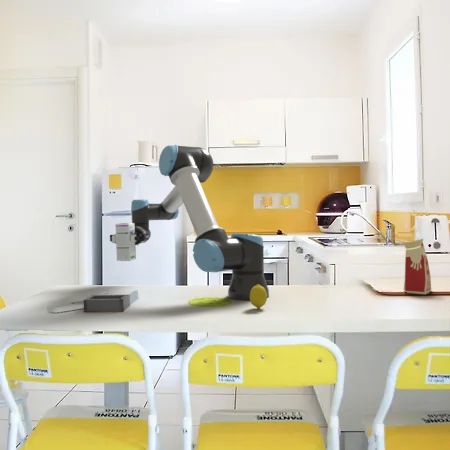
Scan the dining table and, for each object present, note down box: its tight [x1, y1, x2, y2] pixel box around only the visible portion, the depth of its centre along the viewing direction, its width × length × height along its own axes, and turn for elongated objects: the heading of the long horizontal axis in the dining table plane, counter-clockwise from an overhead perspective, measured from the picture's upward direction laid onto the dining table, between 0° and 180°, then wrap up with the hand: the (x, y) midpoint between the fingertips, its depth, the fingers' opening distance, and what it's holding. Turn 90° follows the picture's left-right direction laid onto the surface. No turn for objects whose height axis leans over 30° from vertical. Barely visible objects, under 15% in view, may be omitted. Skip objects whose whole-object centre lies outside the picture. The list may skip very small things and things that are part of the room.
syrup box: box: [114, 222, 137, 262], centre depth 191 cm, size 6×6×14 cm
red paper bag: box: [402, 238, 432, 295], centre depth 184 cm, size 9×9×20 cm
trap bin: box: [83, 294, 131, 313], centre depth 163 cm, size 9×13×4 cm
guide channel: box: [98, 290, 139, 306], centre depth 175 cm, size 14×12×3 cm
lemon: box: [249, 284, 268, 310], centre depth 158 cm, size 6×6×8 cm
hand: (122, 239), depth 186 cm, fingers closed on syrup box, 6 cm apart
